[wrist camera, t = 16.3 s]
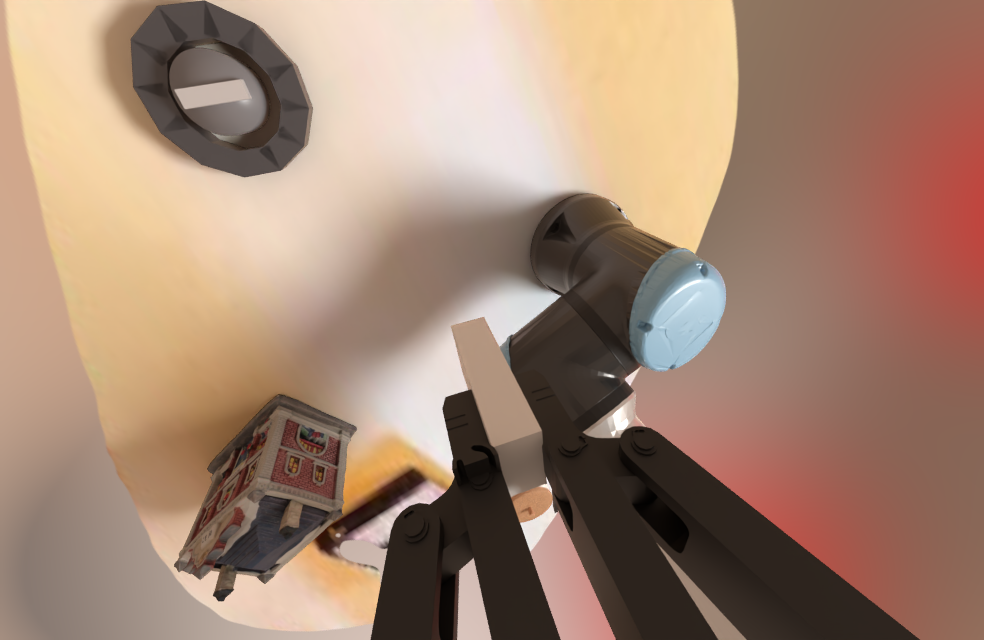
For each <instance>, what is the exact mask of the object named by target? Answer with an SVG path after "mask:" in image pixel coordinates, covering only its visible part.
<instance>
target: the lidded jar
mask: <svg viewBox="0 0 984 640" xmlns="http://www.w3.org/2000/svg"><path fill="white" fill-rule="evenodd" d="M511 499H512V502H513V505H514V507H515V510H516V513H517V516H518V519H519V522H526V521H530V520H532V519H535V518H537V517H538V516H540V515H542V514H543V513H544V512H545V511H546V510H547V509H548V508H549V507H550V506H551V504H552V500H553V497H552V494H551V492H550V491H549V489H548V487H547V485H546V484H544V485H541V486H539V487H536V488H533V489H530V490H528V491H525V492H522V493H519V494H517V495H514V496H511Z"/></svg>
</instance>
